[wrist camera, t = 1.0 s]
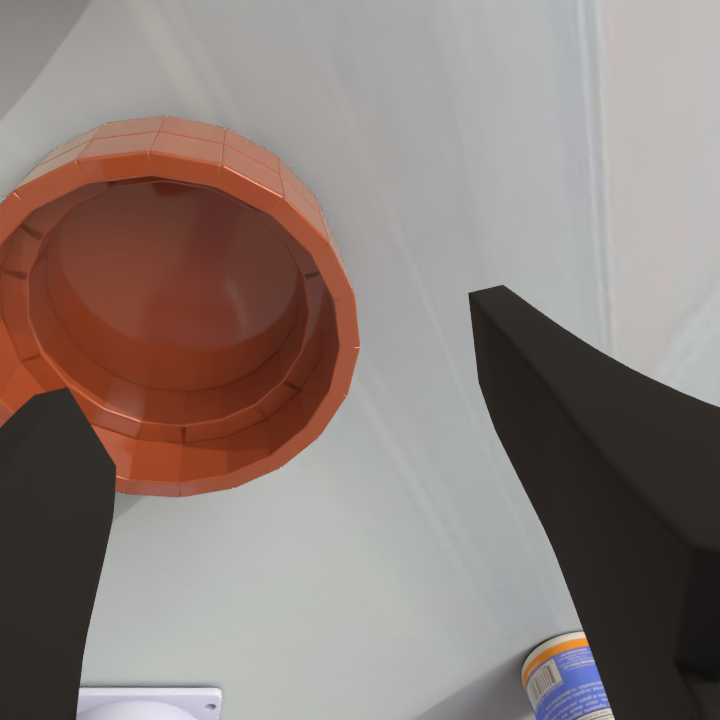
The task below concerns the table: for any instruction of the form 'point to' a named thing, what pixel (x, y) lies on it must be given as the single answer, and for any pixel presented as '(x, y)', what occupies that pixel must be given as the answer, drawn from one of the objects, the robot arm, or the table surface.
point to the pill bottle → (565, 681)
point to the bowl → (176, 302)
